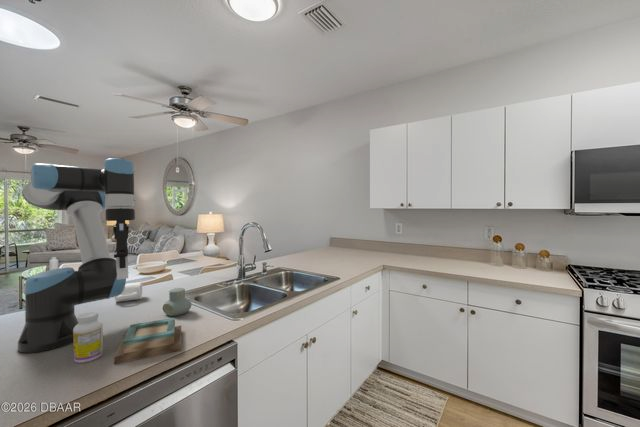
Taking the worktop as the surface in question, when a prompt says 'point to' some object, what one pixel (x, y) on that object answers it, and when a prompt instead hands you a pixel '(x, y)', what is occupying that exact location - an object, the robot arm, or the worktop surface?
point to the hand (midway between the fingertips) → (122, 275)
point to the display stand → (149, 340)
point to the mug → (130, 292)
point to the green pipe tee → (177, 303)
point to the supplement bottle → (87, 338)
